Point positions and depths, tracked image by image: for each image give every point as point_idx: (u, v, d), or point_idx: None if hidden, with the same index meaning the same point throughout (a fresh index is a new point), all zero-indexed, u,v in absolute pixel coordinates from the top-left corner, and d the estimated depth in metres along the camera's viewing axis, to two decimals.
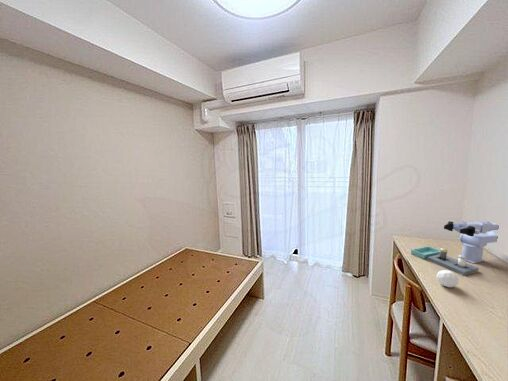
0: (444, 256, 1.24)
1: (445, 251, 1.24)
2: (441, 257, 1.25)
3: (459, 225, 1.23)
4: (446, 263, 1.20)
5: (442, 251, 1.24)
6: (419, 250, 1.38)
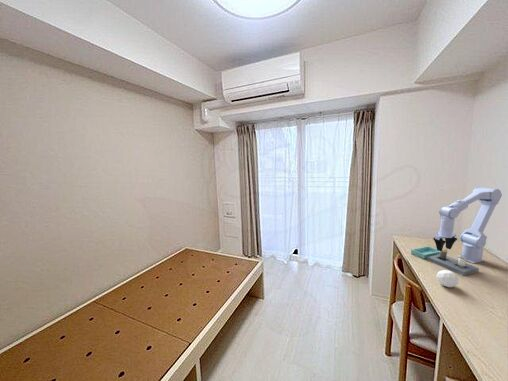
0: (444, 256, 1.24)
1: (445, 251, 1.24)
2: (441, 257, 1.25)
3: None
4: (446, 263, 1.20)
5: (442, 251, 1.24)
6: (419, 250, 1.38)
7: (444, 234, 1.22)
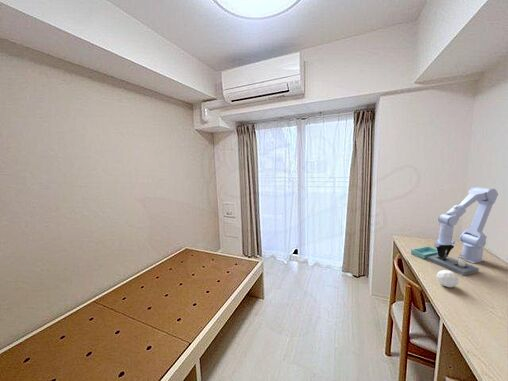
0: (444, 256, 1.24)
1: (445, 251, 1.24)
2: (441, 257, 1.25)
3: None
4: (446, 263, 1.20)
5: None
6: (419, 250, 1.38)
7: (443, 241, 1.22)
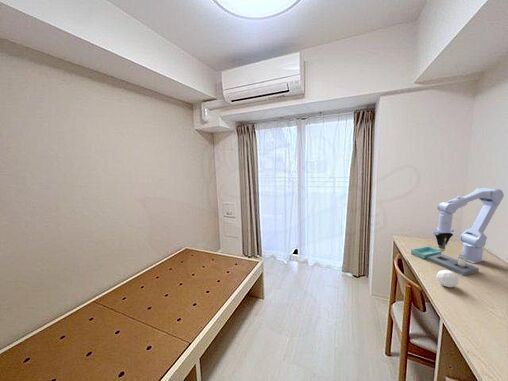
0: (443, 244, 1.24)
1: None
2: None
3: None
4: (446, 263, 1.20)
5: None
6: (419, 250, 1.38)
7: (442, 229, 1.22)
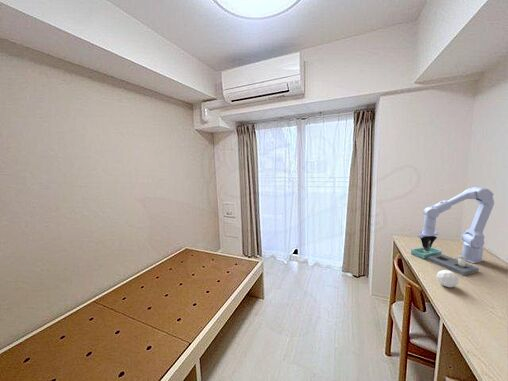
0: (428, 246, 1.33)
1: None
2: None
3: None
4: (446, 263, 1.20)
5: None
6: (419, 250, 1.38)
7: (427, 233, 1.31)
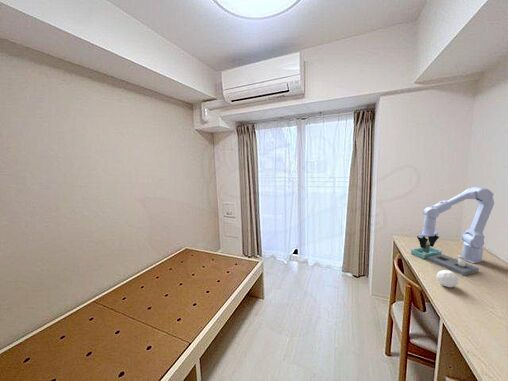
0: (427, 248, 1.33)
1: (428, 243, 1.33)
2: (425, 249, 1.34)
3: None
4: (446, 263, 1.20)
5: None
6: (419, 250, 1.38)
7: (427, 233, 1.31)
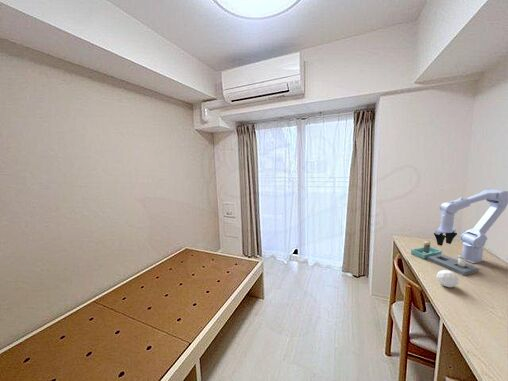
0: (427, 248, 1.33)
1: (428, 244, 1.33)
2: (425, 249, 1.34)
3: None
4: (446, 263, 1.20)
5: (426, 244, 1.33)
6: (419, 250, 1.38)
7: (444, 229, 1.25)
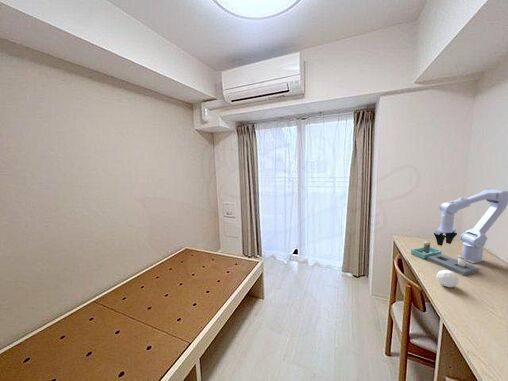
0: (427, 248, 1.33)
1: (428, 244, 1.33)
2: (425, 249, 1.34)
3: None
4: (446, 263, 1.20)
5: (426, 244, 1.33)
6: (419, 250, 1.38)
7: (444, 229, 1.25)
